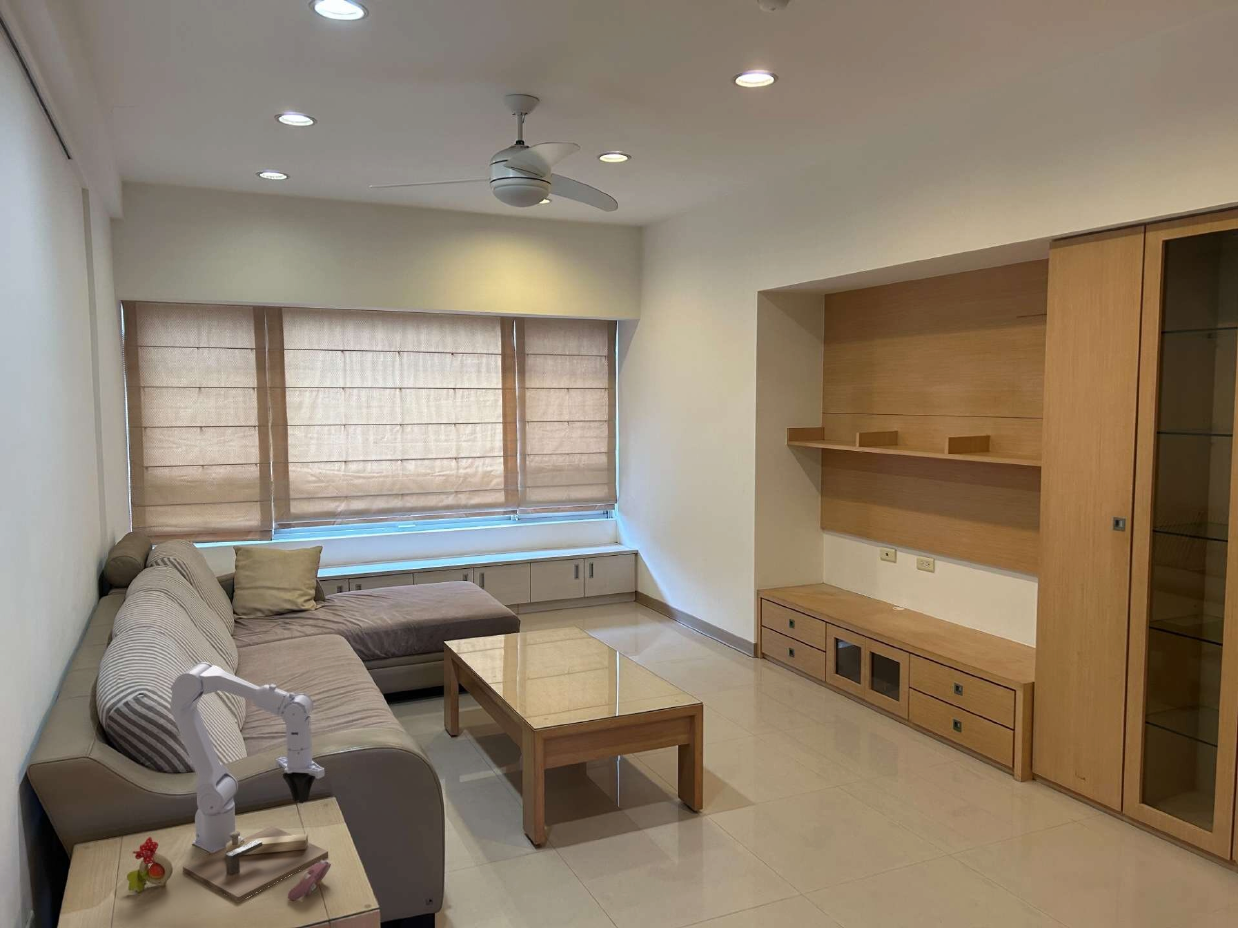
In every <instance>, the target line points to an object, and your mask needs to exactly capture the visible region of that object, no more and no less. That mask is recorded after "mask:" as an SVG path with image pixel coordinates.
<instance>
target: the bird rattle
mask: <svg viewBox="0 0 1238 928" xmlns="http://www.w3.org/2000/svg"><path fill="white" fill-rule="evenodd" d="M158 847H159V843H158V842H157V841H153V837H152V836H149V837H148V838H147V839H146V840H145V842H144V843H143V844H140V845H139V848H138V849H139V850H134V851H132V854H135V856H134V858H135V859H136V860H140V859H141V860H140V863H139V869H134V870H132V871H130V872H128V873H127V875H126V880H127V881H128V882H129V883H128V891H130V892H131V891H133V890H135V889H136V891H138V893H141V892H143V891H144V889H145V888H144V887H145V886H144V884H146V883H147V882H148V883H149V884H152V885H156V886H157V885H158V886H160V887H165V886H166V885H167V882H168V881H169V880H170V879H171V877H172V875H173V871H174V870H173V869H174V868H173V864H172V862H171V861H170V860H169V858H167V857H166V856H165V855H163V854H160V853H157V850H158Z"/></svg>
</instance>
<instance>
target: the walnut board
mask: <svg viewBox="0 0 1238 928" xmlns="http://www.w3.org/2000/svg"><path fill="white" fill-rule="evenodd" d="M290 835H292V834H291V833H290V832H289V833H288V832H287V831H285V830H282V829H280V828H278V827H276V826H274V825H271V826H268V827H267V828H265V829H262V830H260V831H258V832H256V833H253V834H252V835H250V836H247V837H245V838H243V839H242V840H246V839H257V838H268V837H279V836H290ZM326 858H329V851H328V850H326V849H324V848H322V847H319V846H317V845H315V844H313V843H311V842H309V841H308V844H307V847H306V849H301V850H290V851H280V852H269V853H258V854H248V855H242V856H240V857H239V863H240V872H239V873H237V874H235V875H233V876H231V875H229V874H227V872H226V847H225V848H223V849H220V850H218V851H216V852H214V853H210V854H208V855H205V856H203V857H201V858H198V859H196V860H195V861H192V862H190V863H188V864H185V865H183V866H182V872H183V873H185V874H187V875H189V876H190V877H192V878H193V879H195V880H197V881H199V882H200V883H203V884H204V885H205V886H208V887H210V888H212V889H213V890H215V891H217V892H219V893H220V892H221V893H220V894H222V895H224V894H225V895H224V896H226V895H227V896H226V897H227V898H229V897H230V899H232V900H233V899H234V900H233V901H235V902H237V903H241V902H242V901H245V900H246V898H247V897H249V896H251V895H252V896H254V895H256V894H257V893H256V892H258V893H260V892H261V891H260V890H262V889H264V888H266V887H268V886H270V887H271V885H272V886H274V885H275V884H274V883H276V882H277V881H280V880H281V879H283V880H285V879H286V878H285V877H287V878H289V877H290V876H289V875H291V874H293V875H295V874H296V873H295V872H297V873H299V872H300V871H299V870H301V871H303V870H305V869H306V867H307V868H308V867H311V866H312V865H314V864H316V863H318V862H320V861H321V860H323V859H326ZM304 868H305V869H304ZM302 869H303V870H302ZM298 871H299V872H298ZM294 873H295V874H294ZM288 876H289V877H288ZM291 876H292V875H291ZM284 878H285V879H284ZM281 881H282V880H281ZM281 881H280V882H281ZM273 884H274V885H273ZM276 884H277V883H276ZM268 888H269V887H268ZM266 889H267V888H266ZM264 890H265V889H264ZM259 891H260V892H259ZM262 891H263V890H262ZM255 893H256V894H255ZM253 894H254V895H253ZM252 896H251V897H252ZM249 898H250V897H249ZM247 899H248V898H247Z"/></svg>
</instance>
